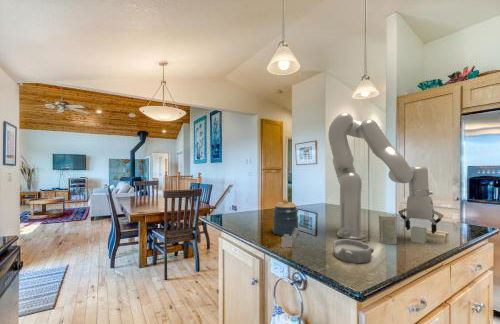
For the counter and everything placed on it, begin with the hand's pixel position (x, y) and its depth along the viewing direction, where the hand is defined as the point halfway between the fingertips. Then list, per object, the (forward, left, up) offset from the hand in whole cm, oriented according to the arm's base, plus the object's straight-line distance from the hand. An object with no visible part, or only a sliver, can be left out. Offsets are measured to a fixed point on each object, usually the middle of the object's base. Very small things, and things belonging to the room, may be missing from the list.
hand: (420, 231), depth 114 cm
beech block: (+8, -4, -5) cm, 10 cm away
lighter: (-50, +36, -5) cm, 62 cm away
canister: (-34, +51, -5) cm, 61 cm away
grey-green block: (0, +1, -5) cm, 5 cm away
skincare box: (-13, +10, -5) cm, 17 cm away
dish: (-42, +13, -5) cm, 45 cm away
